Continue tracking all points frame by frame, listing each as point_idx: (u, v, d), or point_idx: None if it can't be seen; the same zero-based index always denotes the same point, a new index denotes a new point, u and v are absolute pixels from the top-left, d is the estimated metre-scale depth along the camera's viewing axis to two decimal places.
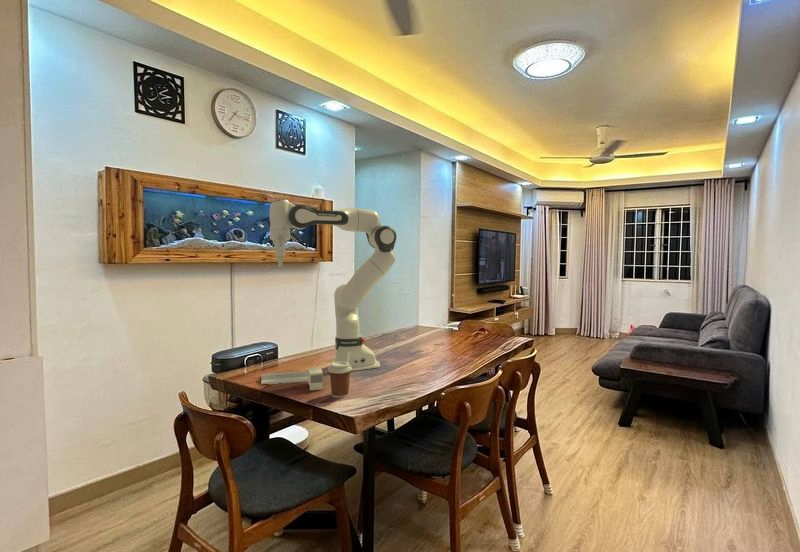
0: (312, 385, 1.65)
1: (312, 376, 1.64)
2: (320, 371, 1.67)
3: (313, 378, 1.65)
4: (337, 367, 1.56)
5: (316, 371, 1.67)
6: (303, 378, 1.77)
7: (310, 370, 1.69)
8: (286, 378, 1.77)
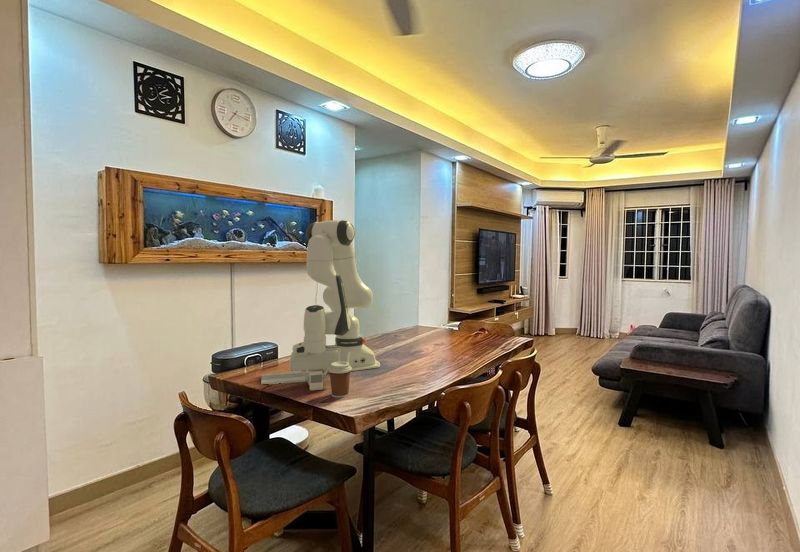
0: (312, 385, 1.65)
1: (312, 376, 1.64)
2: (320, 371, 1.67)
3: (313, 378, 1.65)
4: (337, 367, 1.56)
5: (316, 371, 1.67)
6: (303, 378, 1.77)
7: (310, 370, 1.69)
8: (286, 378, 1.77)
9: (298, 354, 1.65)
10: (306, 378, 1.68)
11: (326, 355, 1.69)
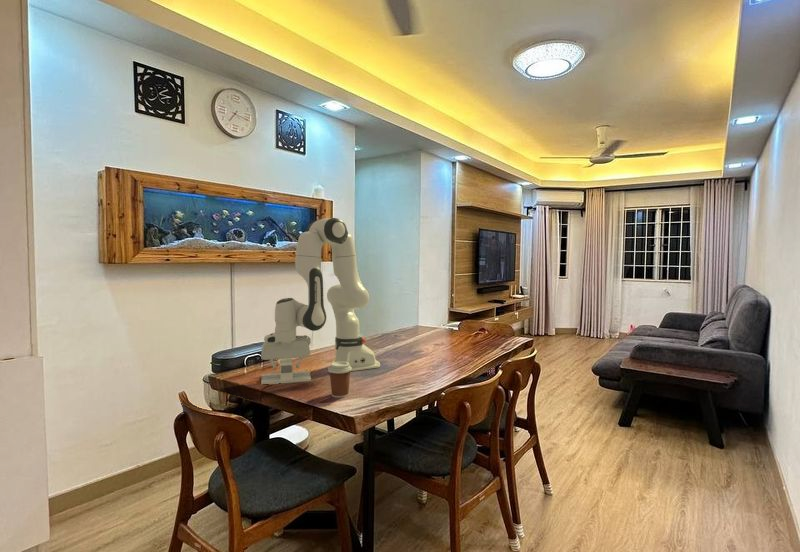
0: (282, 375, 1.75)
1: (282, 366, 1.74)
2: (290, 362, 1.77)
3: (284, 368, 1.75)
4: (337, 367, 1.56)
5: (286, 362, 1.77)
6: (303, 378, 1.77)
7: (281, 361, 1.79)
8: None
9: (269, 343, 1.75)
10: (273, 367, 1.77)
11: (296, 345, 1.79)
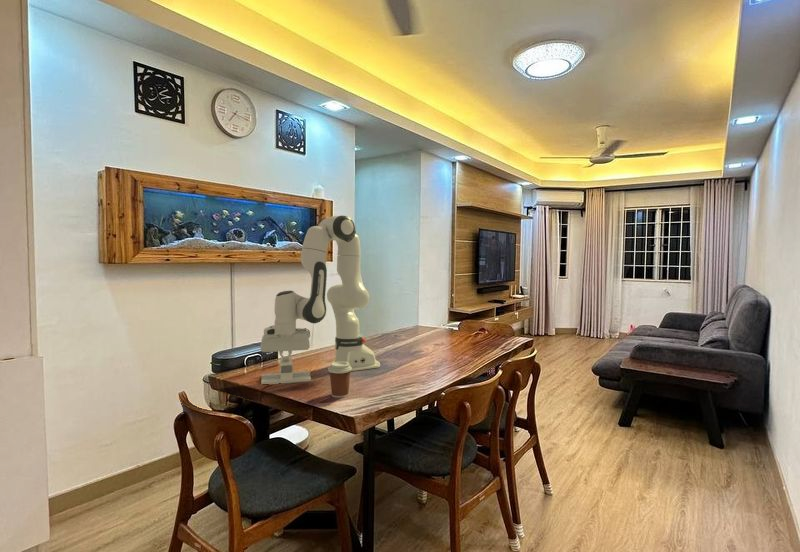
0: (282, 375, 1.75)
1: (282, 366, 1.74)
2: (290, 362, 1.77)
3: (284, 368, 1.75)
4: (337, 367, 1.56)
5: (286, 362, 1.77)
6: (303, 378, 1.77)
7: (281, 361, 1.79)
8: None
9: (269, 336, 1.74)
10: (283, 358, 1.78)
11: (296, 337, 1.79)
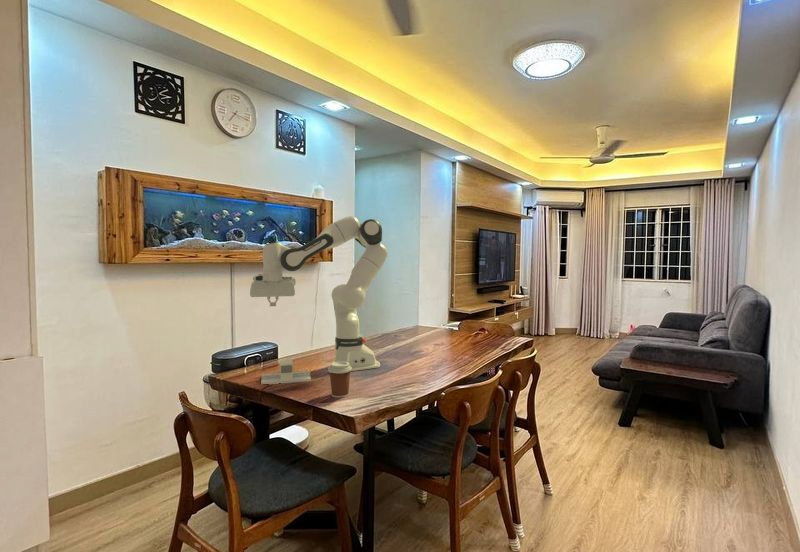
0: (282, 375, 1.75)
1: (282, 366, 1.74)
2: (290, 362, 1.77)
3: (284, 368, 1.75)
4: (337, 367, 1.56)
5: (286, 362, 1.77)
6: (303, 378, 1.77)
7: (281, 361, 1.79)
8: None
9: (257, 282, 1.92)
10: (270, 303, 1.96)
11: (282, 284, 1.96)
